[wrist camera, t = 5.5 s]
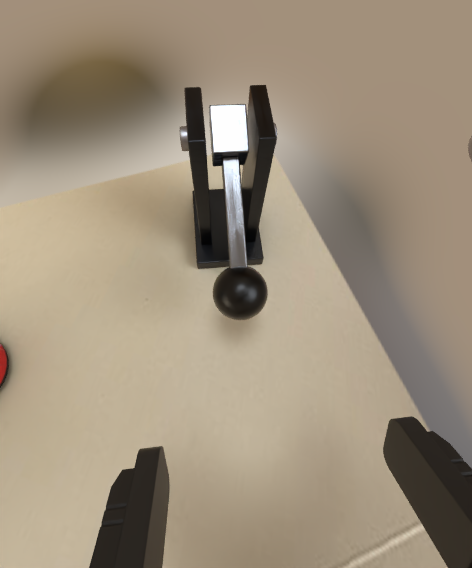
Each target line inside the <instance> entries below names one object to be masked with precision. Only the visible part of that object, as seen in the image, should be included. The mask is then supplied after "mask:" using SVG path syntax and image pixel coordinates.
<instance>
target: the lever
mask: <svg viewBox="0 0 472 568" xmlns="http://www.w3.org/2000/svg"><path fill="white" fill-rule="evenodd" d="M209 115H210V135H211V149H212V161H213V166H222V177H223V190H224V203H225V216H226V229H227V242H228V255H229V268H227V269H226V270H224V271H223V272H222V273H221V274H220V275H219V276H218V277H217V279H216V281H215V283H214V287H213V299H214V302H215V305H216V306H217V308H218V309H219V311H220V312H221V313H222V314H224V315H225V316H227V317H228V318H231V319H234V320H246V319H249V318H252V317H254V316H255V315H257V314H258V313H259V312H260V311H261V310H262V309H263V307H264V305H265V303H266V300H267V285H266V282H265V280H264V278H263V277H262V276H261V274H260V273H259V272H257V271H256V270H255V269H253V268H251V267H248V266H247V256H246V243H245V229H244V215H243V202H242V188H241V174H240V165H245V162H246V159H247V156H248V153H249V140H248V126H247V112H246V105H245V104H236V105H210V107H209Z"/></svg>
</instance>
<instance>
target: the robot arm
mask: <svg viewBox="0 0 472 568" xmlns="http://www.w3.org/2000/svg"><path fill="white" fill-rule="evenodd" d="M383 453H384V458H385V461H386V463H387V466H388V468H389V469H390V471H391V473H392V474H393V476H394V478H395V479H396V481H397V483H398V484H399V486H400V488H401V489H402V491H403V493H404V494H405V496H406V498H407V499H408V501H409V503H410V505H411V506H412V508H413V510H414V511H415V513H416V515H417V516H418V518H419V520H420V521H421V523H422V525H423V526H424V528H425V530H426V531H427V533H428V535H429V536H430V538H431V540H432V541H433V543H434V545H435V546H436V548H437V550H438V551H439V553H440V555H441V557H442V558H443V560H444V562H445V563H446V565H447V567H448V568H472V469H471V468H470V467H469V465H468V464H467V463H466V462H464V461H463V458H462V457H461V456H460V455H459V454H458V453H457V452H456V450H455V449H454V448H453V447H452V446H451V444H450V443H448V442H447V441H446V440H444V439H443V438H441V437H440V436H439V435H437V434H436V433H435V432H433V431H431V432H427V431H426V429H425V428H424V427H423V426H422V425H421V423H420V422H419V421H418V420H417V419H416V418H414V417H404V418H396V419H391V420H390V421H389V424H388V429H387V433H386V438H385V442H384V447H383ZM168 502H169V474H168V469H167V464H166V459H165V454H164V449H163V447H162V446H160V447H152V448H144V449H140V450H139V452H138V455H137V459H136V464H135V468H133V469H125V470H122V471H121V473H120V474H119V476H118V477H117V479H116V481H115V482H114V484H113V485H112V487H111V490H110V494H109V497H108V501H107V505H106V510H105V512H104V516H103V519H102V526H101V527H100V530H99V534H98V538H97V541H96V545H95V549H94V552H93V556H92V560H91V563H90V567H89V568H162V564H163V554H164V543H165V533H166V523H167V513H168Z"/></svg>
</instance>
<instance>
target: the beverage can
mask: <svg viewBox="0 0 472 568" xmlns="http://www.w3.org/2000/svg"><path fill="white" fill-rule="evenodd" d="M8 367H9V365H8V356H7V352H6V350H5V349H4V347H3V346H2V345H1V344H0V387H1V386H2V384H3V383H4V380H5V378H6V376H7V372H8Z"/></svg>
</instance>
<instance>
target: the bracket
mask: <svg viewBox="0 0 472 568" xmlns="http://www.w3.org/2000/svg"><path fill="white" fill-rule="evenodd" d="M185 106H186V123H187V126H184V127H183V126H182V127H180V140H181V147H182V151H189V156H190V164H191V171H192V179H193V186H194V191H193V207H194V223H195V239H196V256H197V266H198V269H201V268H214V267H227V266H229V255H228V242H227V229H226V216H225V203H224V190H223V189H215V190H209V185H208V169H207V154H206V139H205V128H204V116H203V105H202V93H201V88H200V87H189V88H185ZM247 126H248V140H249V153H248V156H247V159H246V162H245V165H243V173H242V184H241V188H242V202H243V215H244V229H245V243H246V256H247V265H254V264H262V261H263V252H262V246H261V239H260V233H259V222H260V217H261V212H262V207H263V202H264V197H265V192H266V188H267V183H268V178H269V173H270V168H271V163H272V158H273V153H274V148H275V145H276V140H277V128H276V124H275V123H273V118H272V113H271V108H270V103H269V98H268V93H267V89H266V85H252V86H250V93H249V104H248V115H247Z"/></svg>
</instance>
